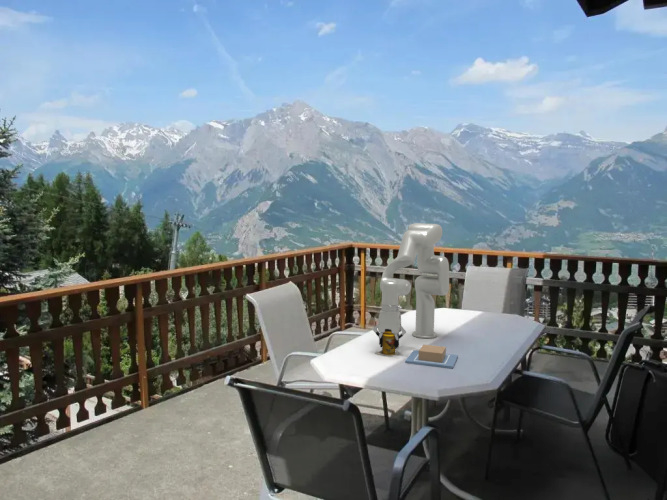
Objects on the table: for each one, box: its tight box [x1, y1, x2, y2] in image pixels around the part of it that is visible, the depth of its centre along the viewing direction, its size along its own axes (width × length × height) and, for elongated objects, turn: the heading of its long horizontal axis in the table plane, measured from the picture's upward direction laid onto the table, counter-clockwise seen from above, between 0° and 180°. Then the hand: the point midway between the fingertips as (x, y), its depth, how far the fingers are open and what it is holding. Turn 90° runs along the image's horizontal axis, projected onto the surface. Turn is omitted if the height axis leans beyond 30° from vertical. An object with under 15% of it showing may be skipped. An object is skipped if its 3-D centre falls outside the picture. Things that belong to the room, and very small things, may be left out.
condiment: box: [375, 329, 399, 357], centre depth 230 cm, size 7×8×12 cm
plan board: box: [404, 344, 459, 370], centre depth 221 cm, size 18×20×5 cm
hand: (388, 346), depth 230 cm, fingers closed on condiment, 6 cm apart
